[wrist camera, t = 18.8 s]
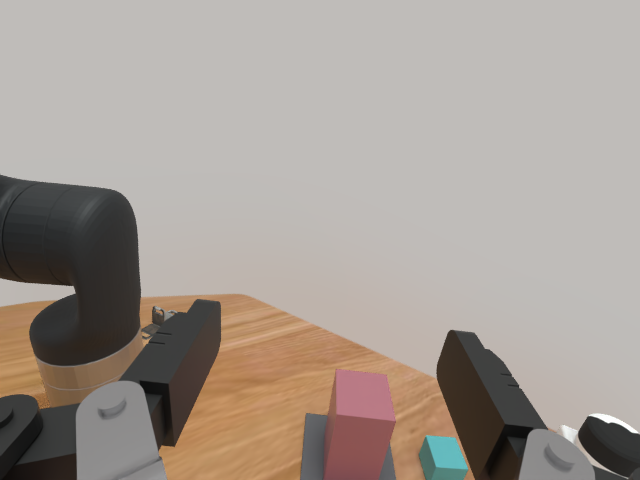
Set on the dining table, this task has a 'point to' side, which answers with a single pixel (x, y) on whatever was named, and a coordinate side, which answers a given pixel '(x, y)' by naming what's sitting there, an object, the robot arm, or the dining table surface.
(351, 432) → the tall pink pillar
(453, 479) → the block
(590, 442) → the medicine bottle
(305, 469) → the mat
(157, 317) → the strap clip
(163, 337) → the robot arm
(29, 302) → the dining table surface
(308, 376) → the dining table surface
